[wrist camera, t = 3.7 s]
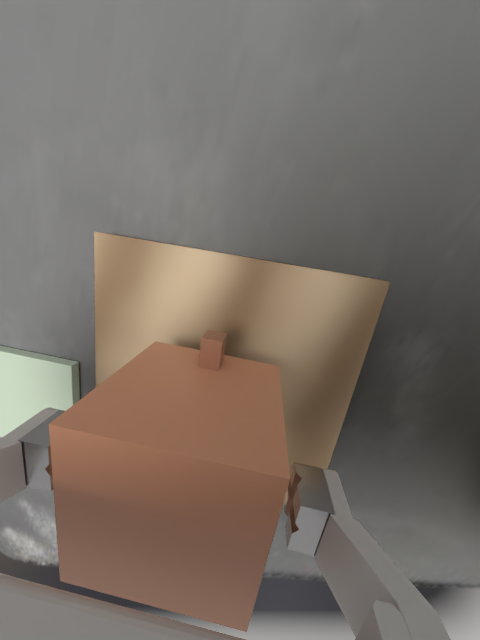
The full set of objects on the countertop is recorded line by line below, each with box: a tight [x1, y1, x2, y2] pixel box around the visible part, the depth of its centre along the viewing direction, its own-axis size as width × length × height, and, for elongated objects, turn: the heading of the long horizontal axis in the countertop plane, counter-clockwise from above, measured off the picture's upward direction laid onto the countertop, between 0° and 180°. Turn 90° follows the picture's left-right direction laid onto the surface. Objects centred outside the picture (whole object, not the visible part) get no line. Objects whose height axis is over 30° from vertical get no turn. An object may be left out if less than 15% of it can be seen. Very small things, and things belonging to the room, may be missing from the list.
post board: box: [94, 232, 390, 504], centre depth 11 cm, size 14×14×8 cm
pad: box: [0, 345, 80, 437], centre depth 16 cm, size 8×8×1 cm
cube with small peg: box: [49, 330, 290, 632], centre depth 9 cm, size 6×8×6 cm
